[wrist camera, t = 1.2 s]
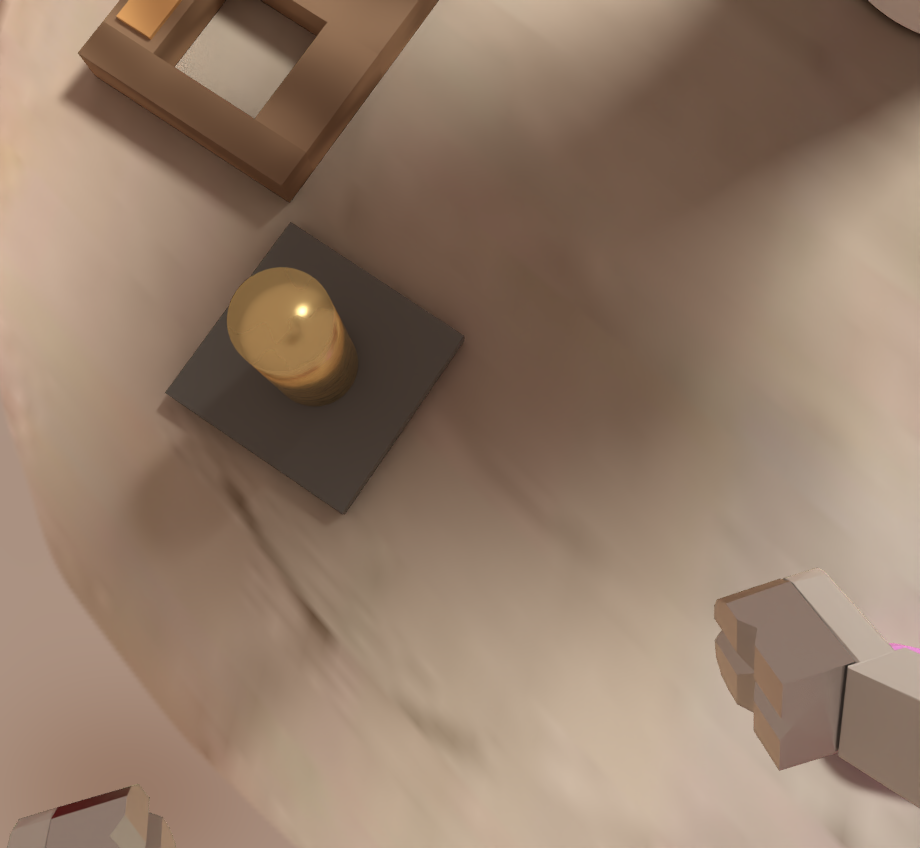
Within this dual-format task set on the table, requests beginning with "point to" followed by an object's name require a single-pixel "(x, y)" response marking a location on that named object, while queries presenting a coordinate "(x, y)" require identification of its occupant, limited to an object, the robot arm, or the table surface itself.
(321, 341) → the brass peg
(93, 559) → the table surface
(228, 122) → the socket block
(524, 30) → the table surface
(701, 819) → the table surface
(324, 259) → the pad
